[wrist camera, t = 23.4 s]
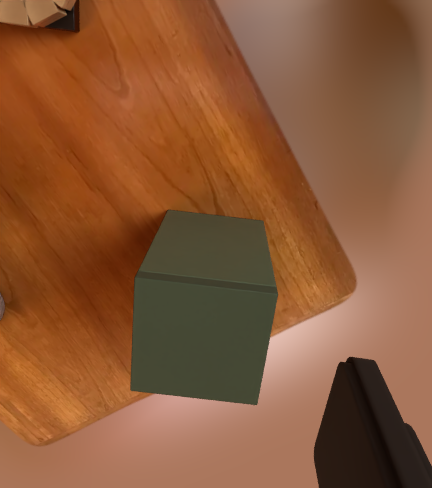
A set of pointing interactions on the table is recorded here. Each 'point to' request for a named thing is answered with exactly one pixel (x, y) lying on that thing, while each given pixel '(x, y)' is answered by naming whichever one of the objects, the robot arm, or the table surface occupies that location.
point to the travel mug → (1, 307)
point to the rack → (67, 20)
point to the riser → (203, 309)
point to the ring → (33, 11)
